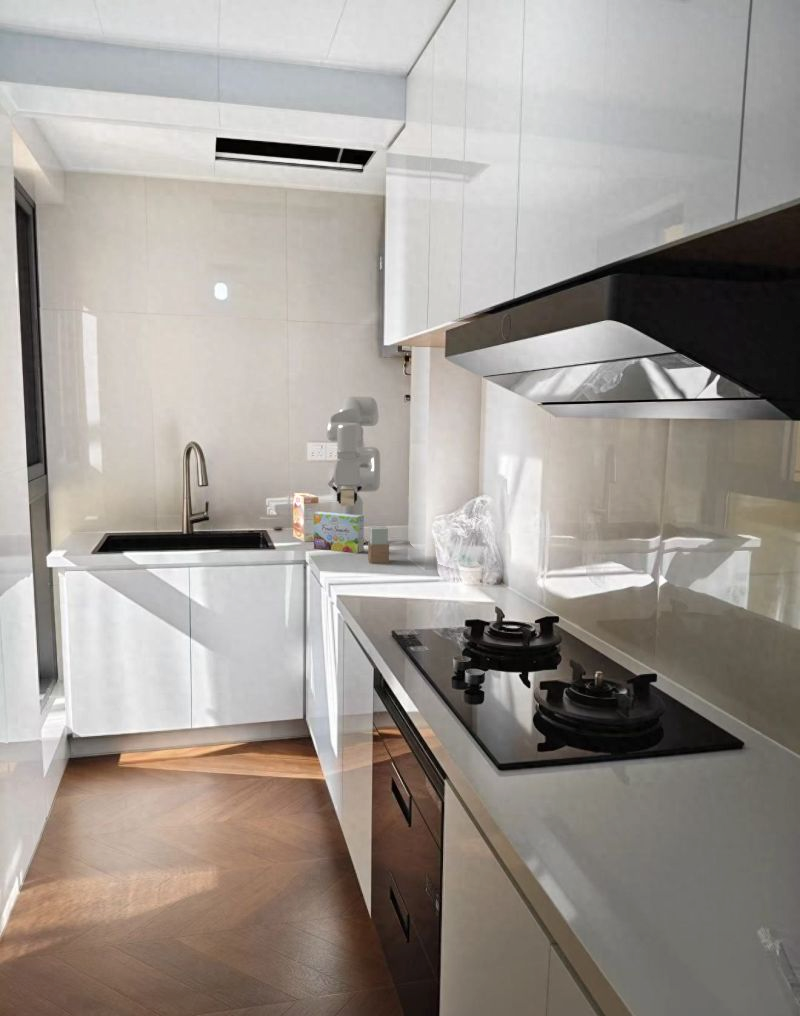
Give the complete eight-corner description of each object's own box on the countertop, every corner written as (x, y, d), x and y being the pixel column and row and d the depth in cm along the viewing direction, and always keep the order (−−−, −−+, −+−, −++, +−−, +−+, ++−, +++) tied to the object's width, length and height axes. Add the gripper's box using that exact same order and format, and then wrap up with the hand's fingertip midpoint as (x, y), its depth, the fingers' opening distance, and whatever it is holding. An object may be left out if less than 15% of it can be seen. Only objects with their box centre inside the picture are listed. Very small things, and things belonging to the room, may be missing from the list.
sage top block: (369, 542, 318) (369, 526, 317) (385, 542, 319) (385, 526, 318) (371, 544, 312) (371, 529, 311) (387, 544, 313) (387, 528, 312)
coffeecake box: (292, 536, 371) (292, 493, 369) (307, 536, 374) (307, 492, 372) (303, 542, 358) (303, 496, 355) (319, 541, 361) (319, 496, 358)
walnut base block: (368, 560, 319) (368, 542, 318) (386, 559, 320) (386, 541, 319) (370, 563, 312) (370, 545, 311) (388, 563, 313) (389, 544, 312)
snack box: (312, 548, 342) (312, 512, 340) (320, 546, 347) (320, 510, 345) (357, 553, 332) (357, 516, 330) (364, 551, 337) (364, 514, 335)
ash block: (339, 504, 326) (339, 488, 325) (352, 503, 327) (352, 488, 326) (341, 505, 321) (341, 490, 320) (353, 505, 322) (354, 490, 321)
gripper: (367, 455, 326) (367, 501, 329) (324, 455, 324) (324, 501, 326) (370, 457, 319) (369, 504, 322) (325, 457, 316) (325, 504, 319)
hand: (346, 502), depth 324 cm, fingers closed on ash block, 4 cm apart
